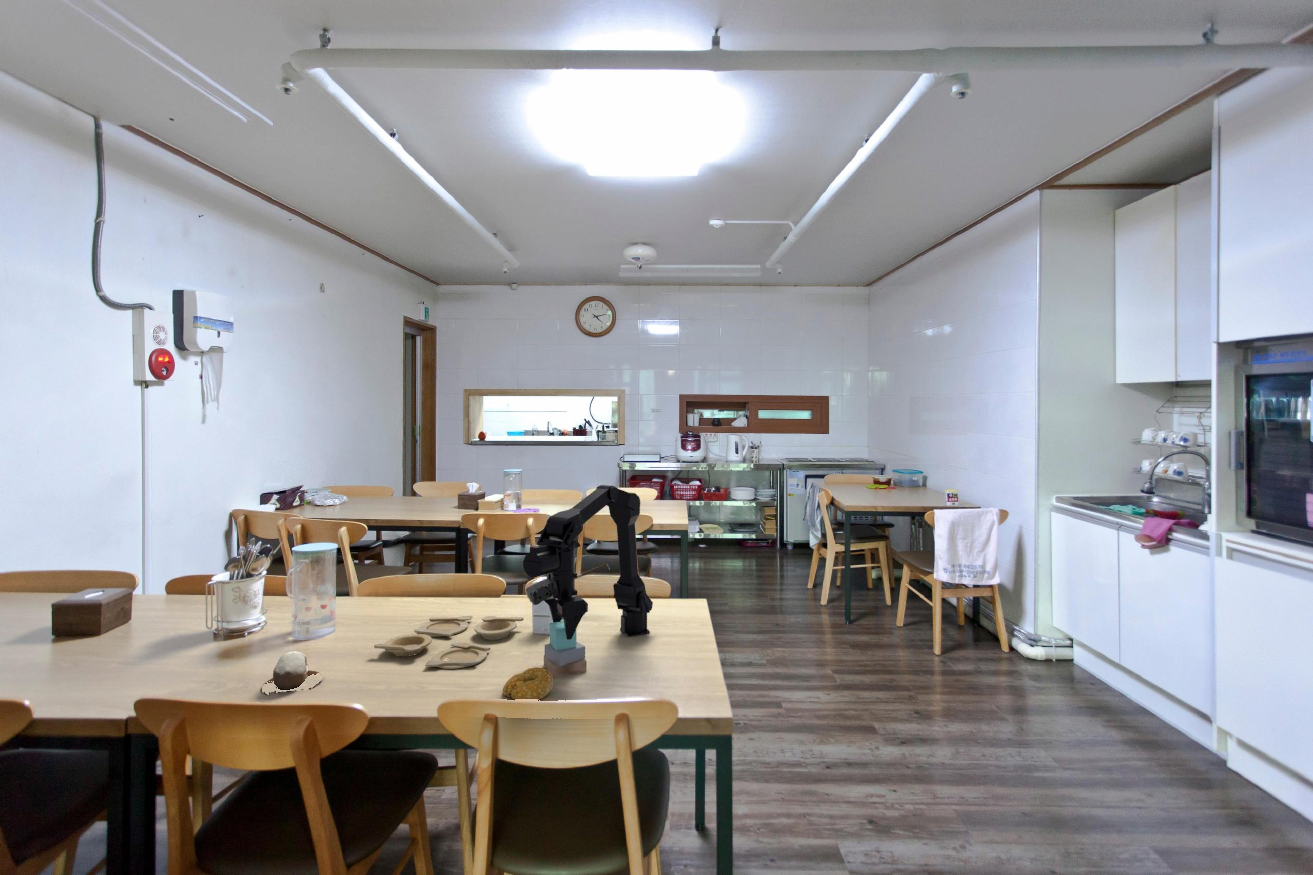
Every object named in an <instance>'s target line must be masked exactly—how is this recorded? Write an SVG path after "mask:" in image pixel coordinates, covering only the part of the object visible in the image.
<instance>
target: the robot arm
mask: <svg viewBox="0 0 1313 875" xmlns="http://www.w3.org/2000/svg"><path fill="white" fill-rule="evenodd" d="M606 506H607V507H608V510H609V515H610V517H611V519H612V521H613V522H614V523H615V526H616V533H617V534H616V535H617V550H618V562H619V564H618V566H619V578H618V580H617V581H616V582H615V583H613V598H614V599H615V604H616V606H617V609H618V610H622V611H621V612H622V614H621V615H620V627H619V630H620V632H622V633H624V634H625V635H626V636H627V637H634V636H639V635H645V634H650V633H651V631H650V630H649V629H648V614H650V613H651V611H652V610H653V605H654V602H653V601H652V599H651V597H649V595H648V594H647V589H646V585H645V582H644V581H643V579H642V577H641V576H640V575H639V569H638V568H639V566H638V553H637V550H638V549H637V537H636V522H637V520H638V518H639V517H640V514H641V498H640V496H639V495H638V494H637V493H636V492H629V491H625V490H623V489H620V488H618V487H616V486H615V485H607V484H600V485H597V487H596V488H595V490H594V491H592V492H591V493H590V494H588V495H587V496H586V497H584V498H583V499H581V501H579V502H578V503H577V504H575V505H573V507H570V508H569V509H566V510H562V511H559V512H556V513H554V514H552V515H550V516H549V517H548V518H547V519H546V523H545V524H544V528H543V530H542V532H541V533H540V536H539V538H538V540H537V543H536V545H533V546H530V547H529V552H528V553H526V555H525V556H524V558H523V561H522V568H523V570H524V572H525V574H526V575H527V576H528V577H530V578H539V577H541V576H542V577H543V576H544V575H546V577H547V579H545V580H543V581H540V582H538V583H536V584H534V585H532V584H531V585H530V586H528V587H526V588H525V592H526V595H527V597H528V600H529V602H530V603H531V604H532V603H533V605H537V604H540V603H541V602H542V601H545V602H546V603H547V604H548V605H549V609H550V612H551V616H552V620H553V623H554V622H561V621H562V619H563V621H564V626H565V633H566V638H567V640H570V639H572V637H573V635H574V633H575V630H576V631H577V629H578V627H579V624H580V622H581V620H582V618H583V616H584V615H586V613H588V612H589V603H588V602H587V601H586V600H585V599H583V598H582V597H581V596H577V595H578V590H577V589H576V587H575V580H576V579H575V578H577V575H578V573H577V572H576V571H575V570H576V568H575V563H576V562H575V556H576V555H575V549H576V548H580V547H581V544H580V542H578V541H577V540H576V539H577V538H578V537H579V535H580V534H581V533H582V532H583V530H584V527H585V526H584V525H585V524H586V523H587V522H588V521H589V520H591V518H593V517H594V516H595V515H596V514H597V513H599V512H600V511H601V510H602V509H603V508H606ZM577 579H578V578H577ZM573 595H575V597H572V596H573Z"/></svg>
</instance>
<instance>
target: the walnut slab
mask: <svg viewBox="0 0 1313 875" xmlns="http://www.w3.org/2000/svg"><path fill="white" fill-rule="evenodd" d="M587 663H588V662H587V660H586V658H585V659H582V660H579V661H575V662H572V663H569V664H565V665H562V666H559V665H557V664H555V663H554V662H552V661H550V660H549V659H547V658H545V654H543V666H544V667H545V668H546V670H548V672H550V673H551V674H552V677H553V678H558V677H564V676H569V675H575V674H579V673H580V674H581V673H584V672H587V670H588V669H587Z"/></svg>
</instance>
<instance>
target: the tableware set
mask: <svg viewBox="0 0 1313 875" xmlns="http://www.w3.org/2000/svg"><path fill="white" fill-rule="evenodd" d="M473 617H474V615H461V616H454V617H453V616H452V617H451V616H450V617H449V616H447V617H446V616H444V617H443V616H440V617H439V616H433V617H432V616H431V617H429V618H428V619H429V620H428V622H425V623H423V624H420V626H419V627H418V628H415V629H413V630H414V633H411V634H410V633H409V634H404V635H398V636H395V637H393V638H390V639H387V640H386V641H385V642H384V643H376V644H374V645H373V648H375V649H383V650H385V651H387V652H390V653H392V654H393V655H394V656H395V655H397V656H396V657H399V656H407V657H410V656H409V655H413V656H415V655H414V654H416V655H418V653H419V654H420V653H421V651H422V652H423V650H424V648H426V647H429V646H430V645H431V644H432V641H433V638H439V637H440V638H442V637H443V638H444V637H453V635H457V634H460V633H463V632H464V631H466V630H467V629H468V627H469V623H468V621H471V620H472V619H473ZM523 621H524V617H522V616H514V617H513V616H510V617H509V616H505V617H501V616H500V617H498V616H495V615H488V616H487V615H486V616H483V617H482V618H481V622H478V623H477V624H475V625H474V627H473V631H474V632H475V633H476V634H480V635H481V637H482V638H483V639H485V640H488V641H495V640H496V641H497V640H502V639H505V638H507V637H508V636H509V634H510V633H511V632H513V630H515V629H516V628H517V626H518V623H517V622H523ZM450 646H451V647H450V648H447V649H446V648H445V649H444V650H441V651H439V652H437V653H434V655H433V656H432V657H431V660H427V661H426V663H425V665H424V666H425V667H433V668H435V667H437V668H439V669H445V670H446V669H448V670H453V669H462V668H463V669H464V668H468V667H473V666H474V665H477V664H480V663H482V662H483V661H484V660H486V658H487V657H488V652H489V651H490V650H491V646H487V645H481V644H475V643H470V642H469V643H468V642H462V641H457V640H456V641H452V642H451V643H450ZM487 651H488V652H487ZM445 658H448V659H449V660H448V659H447V660H448V661H443V660H444V659H445Z"/></svg>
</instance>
